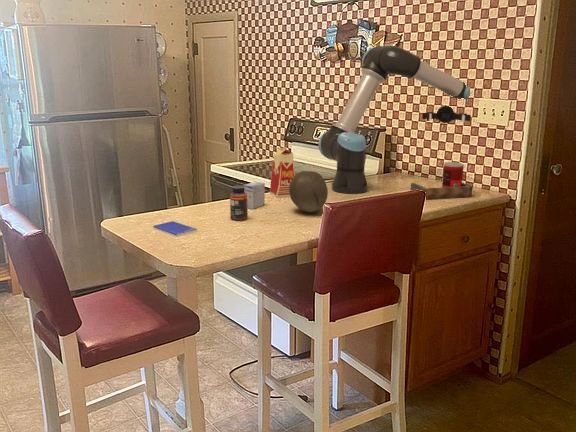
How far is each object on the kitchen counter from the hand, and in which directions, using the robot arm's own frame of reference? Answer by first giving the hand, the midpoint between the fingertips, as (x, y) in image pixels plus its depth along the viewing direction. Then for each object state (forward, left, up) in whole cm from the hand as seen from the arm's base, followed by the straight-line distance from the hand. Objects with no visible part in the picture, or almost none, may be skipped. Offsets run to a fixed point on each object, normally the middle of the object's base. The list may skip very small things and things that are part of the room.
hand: (446, 118), depth 241 cm
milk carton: (-70, +4, -30) cm, 77 cm away
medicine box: (-86, -12, -30) cm, 92 cm away
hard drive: (-118, -35, -31) cm, 127 cm away
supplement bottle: (-95, -27, -30) cm, 104 cm away
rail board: (-7, -12, -30) cm, 33 cm away
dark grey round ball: (-69, -24, -30) cm, 79 cm away
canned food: (-2, -12, -28) cm, 31 cm away
